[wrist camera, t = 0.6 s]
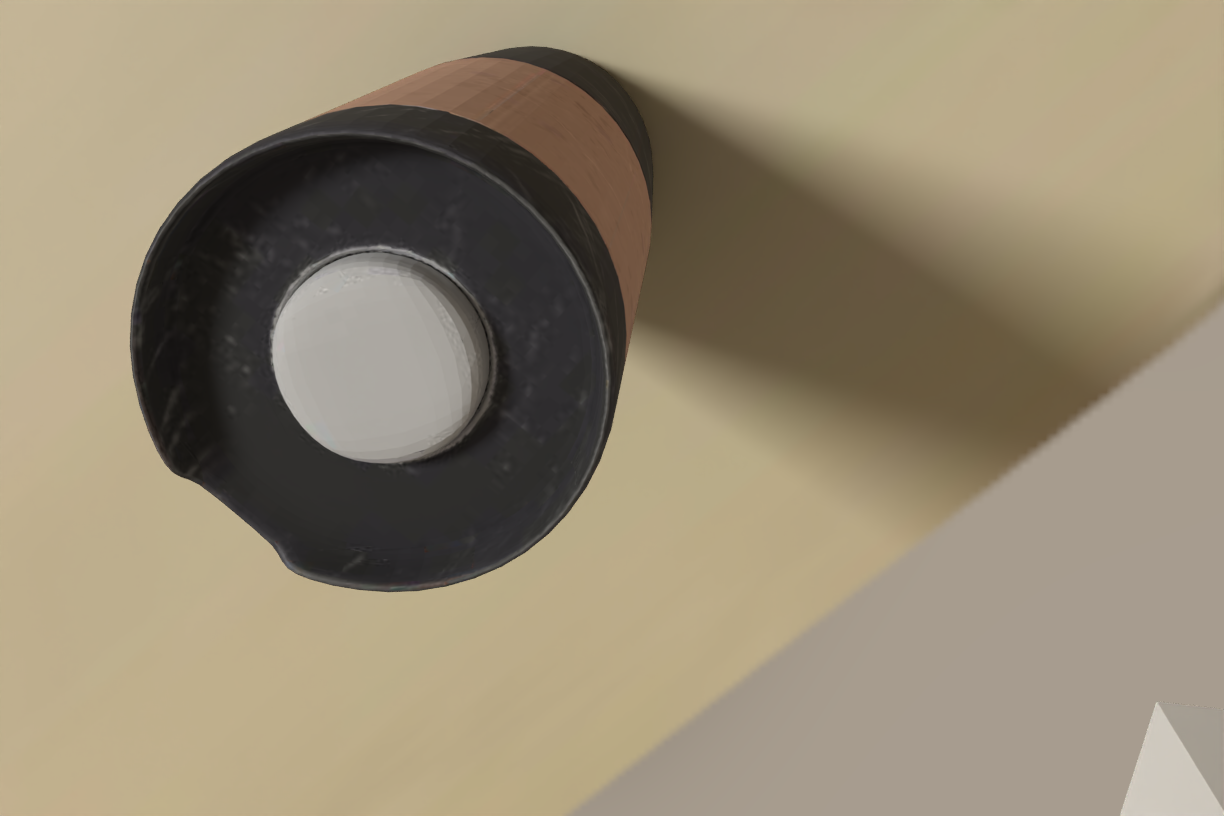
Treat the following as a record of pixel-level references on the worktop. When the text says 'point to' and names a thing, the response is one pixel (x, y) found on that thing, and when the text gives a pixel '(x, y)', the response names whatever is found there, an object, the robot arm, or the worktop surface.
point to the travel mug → (405, 318)
